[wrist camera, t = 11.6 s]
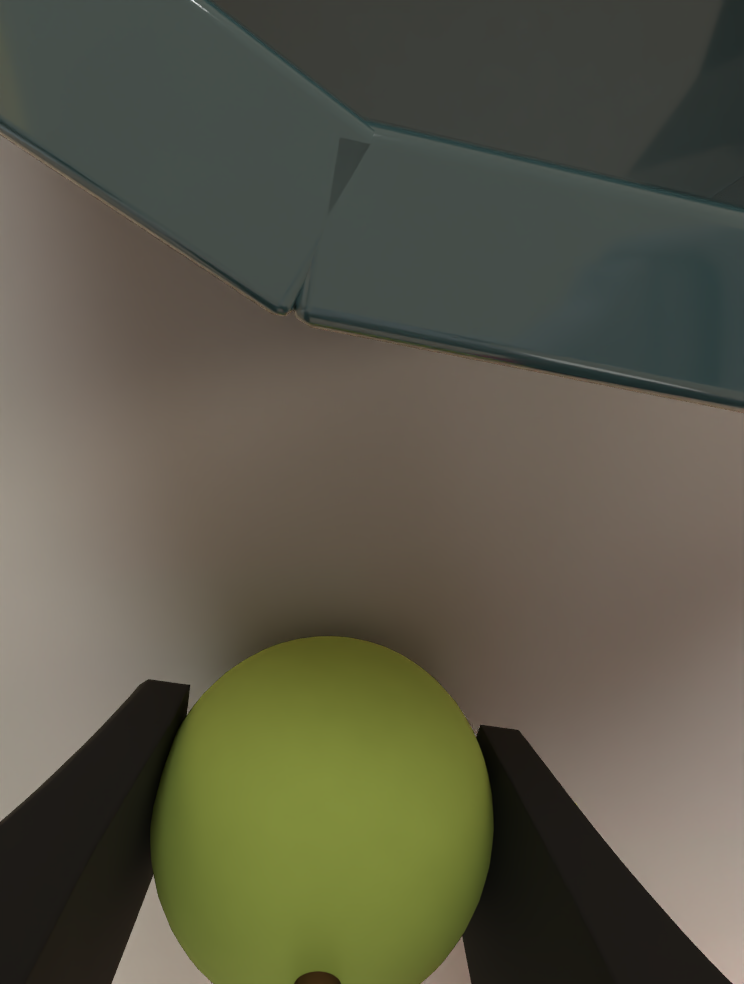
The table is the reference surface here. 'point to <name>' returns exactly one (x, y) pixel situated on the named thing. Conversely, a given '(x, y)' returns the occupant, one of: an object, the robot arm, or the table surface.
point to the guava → (322, 820)
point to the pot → (423, 166)
